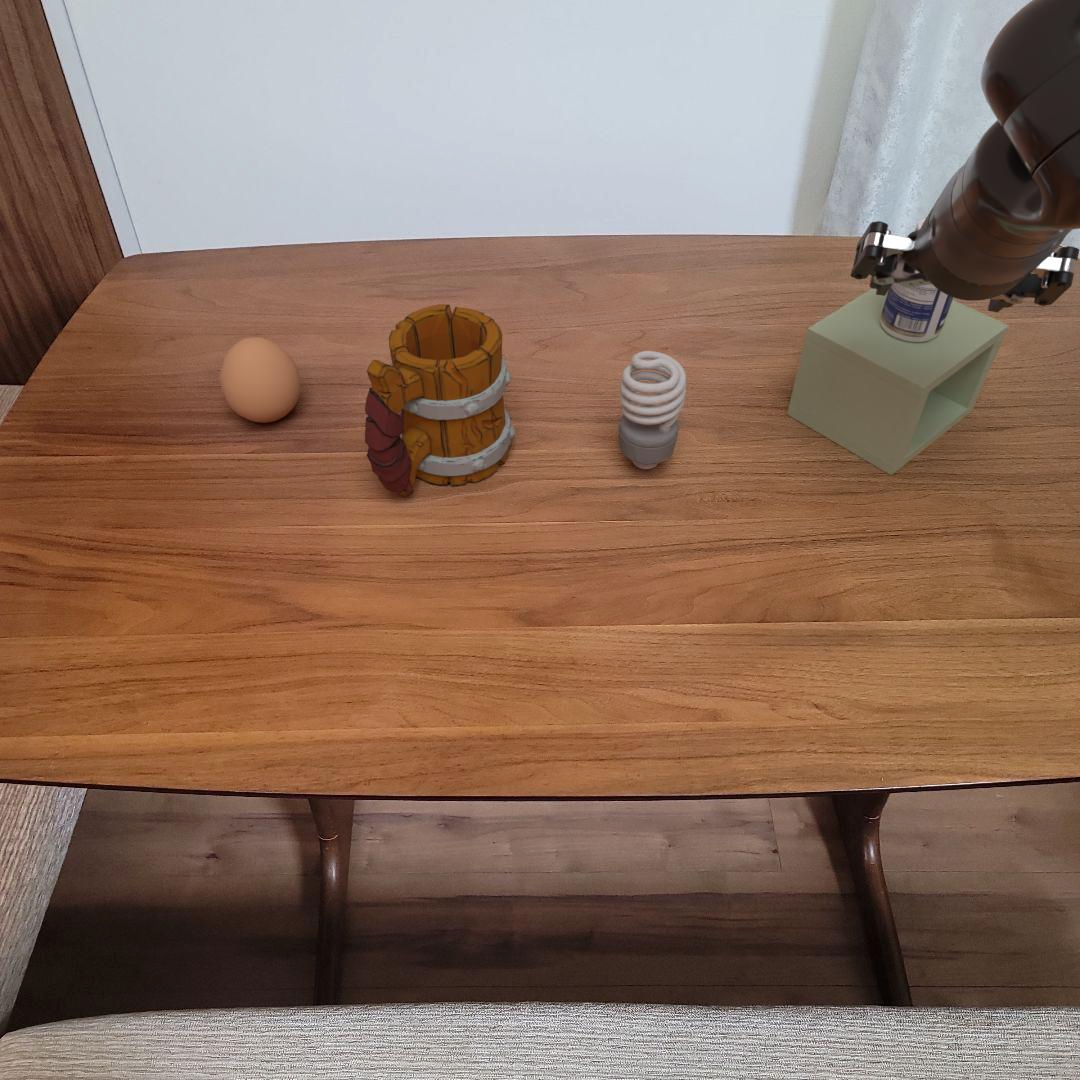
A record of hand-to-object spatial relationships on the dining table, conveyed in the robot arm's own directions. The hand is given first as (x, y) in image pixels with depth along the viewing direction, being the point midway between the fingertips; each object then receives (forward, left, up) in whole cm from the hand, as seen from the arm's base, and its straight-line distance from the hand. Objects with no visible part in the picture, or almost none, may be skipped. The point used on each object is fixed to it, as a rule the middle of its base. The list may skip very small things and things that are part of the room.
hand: (937, 290), depth 73 cm
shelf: (+4, -6, -18) cm, 19 cm away
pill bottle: (+4, -6, -8) cm, 11 cm away
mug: (+27, +31, -18) cm, 45 cm away
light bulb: (+14, +17, -18) cm, 28 cm away
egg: (+44, +39, -18) cm, 61 cm away
